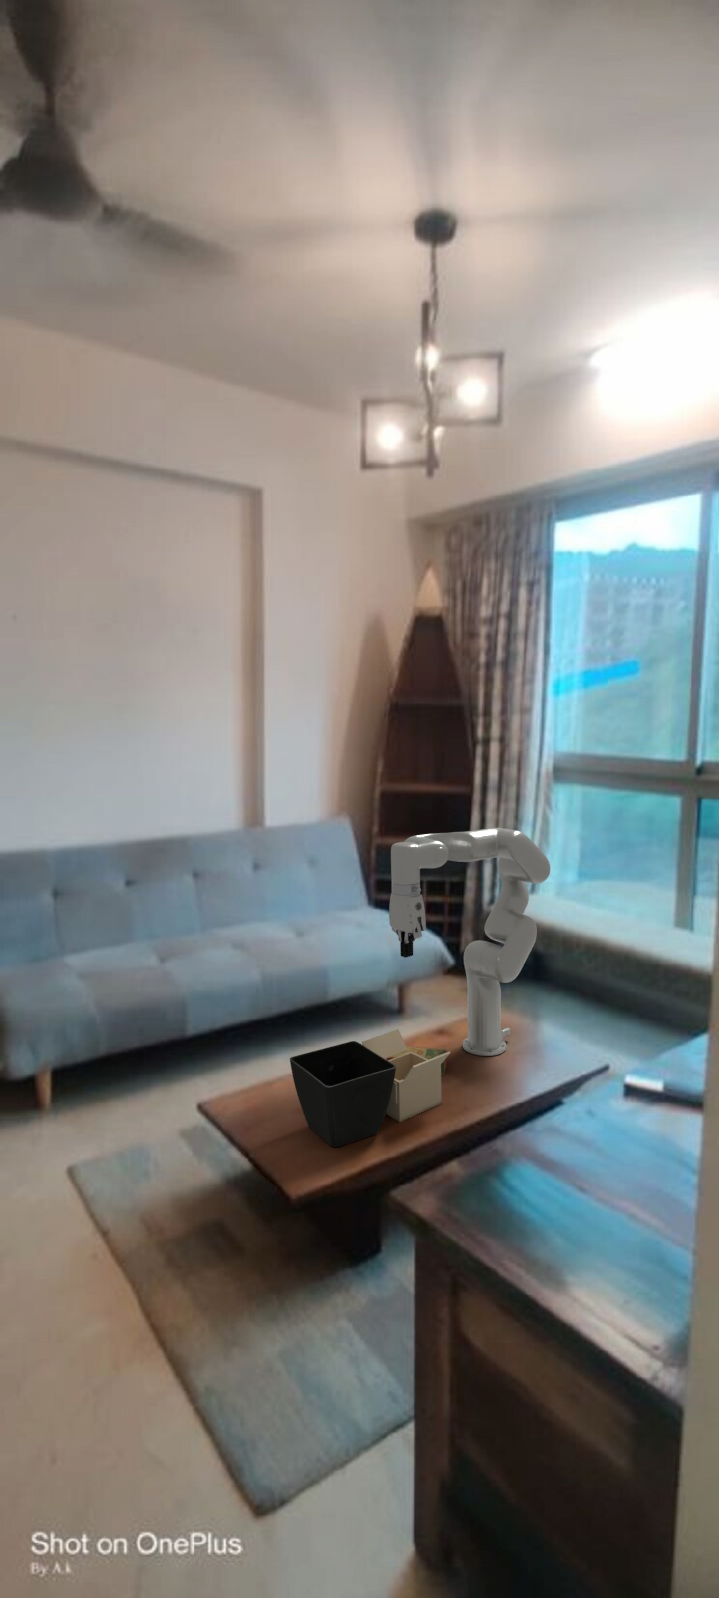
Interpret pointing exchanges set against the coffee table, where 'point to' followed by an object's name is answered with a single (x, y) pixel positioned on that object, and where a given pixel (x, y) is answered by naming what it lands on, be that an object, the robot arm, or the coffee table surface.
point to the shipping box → (413, 1088)
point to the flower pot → (343, 1091)
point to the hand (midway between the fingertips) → (407, 955)
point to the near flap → (426, 1066)
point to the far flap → (386, 1044)
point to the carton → (425, 1055)
